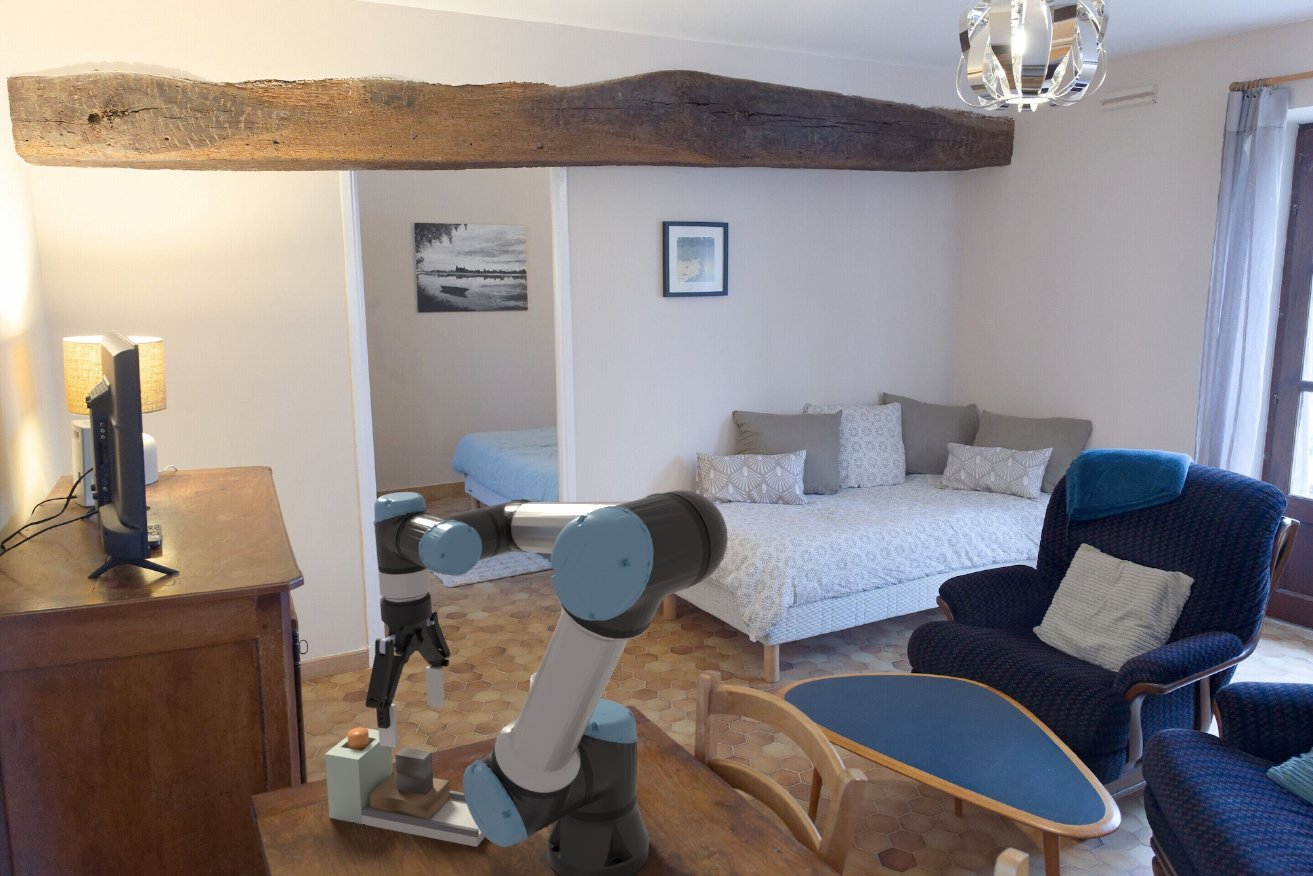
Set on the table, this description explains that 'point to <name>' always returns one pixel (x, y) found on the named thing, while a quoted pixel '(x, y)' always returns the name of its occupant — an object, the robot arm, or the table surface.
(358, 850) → the table surface
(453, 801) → the track
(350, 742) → the button
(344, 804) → the end cabinet
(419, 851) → the table surface
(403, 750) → the carriage
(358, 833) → the table surface
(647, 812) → the table surface
